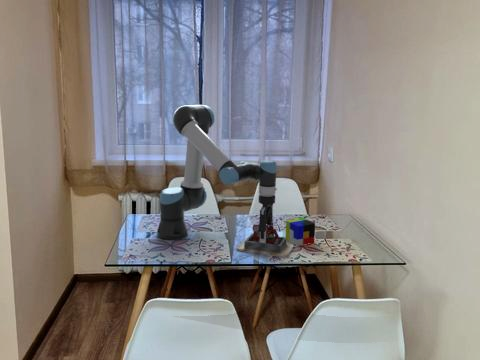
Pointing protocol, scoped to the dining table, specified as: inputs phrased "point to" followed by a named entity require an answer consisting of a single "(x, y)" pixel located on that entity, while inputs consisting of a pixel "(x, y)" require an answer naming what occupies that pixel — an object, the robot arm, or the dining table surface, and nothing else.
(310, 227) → the puzzle toy
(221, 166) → the robot arm
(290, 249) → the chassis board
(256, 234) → the toy fire truck
